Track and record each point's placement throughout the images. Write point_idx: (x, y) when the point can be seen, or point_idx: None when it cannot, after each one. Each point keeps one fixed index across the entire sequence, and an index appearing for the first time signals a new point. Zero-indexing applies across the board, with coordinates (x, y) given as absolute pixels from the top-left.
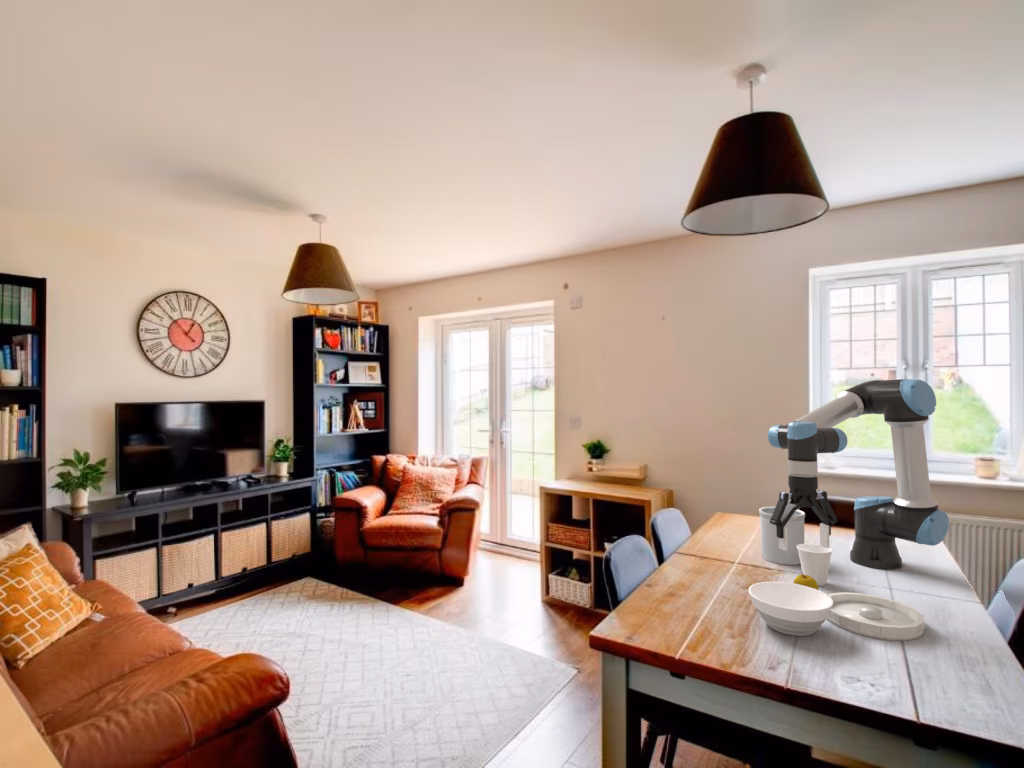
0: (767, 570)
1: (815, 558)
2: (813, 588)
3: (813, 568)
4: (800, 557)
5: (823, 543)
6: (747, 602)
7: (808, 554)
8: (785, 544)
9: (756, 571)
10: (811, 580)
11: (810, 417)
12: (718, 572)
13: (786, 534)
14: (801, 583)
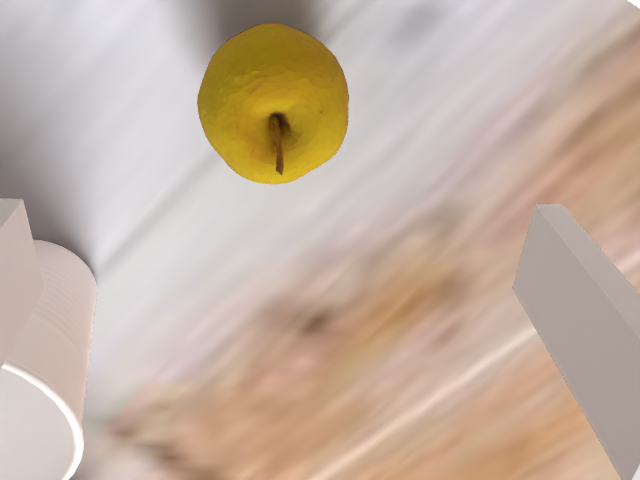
0: (186, 437)
1: (21, 338)
2: (279, 28)
3: (52, 303)
4: (84, 398)
5: (20, 269)
6: (600, 128)
7: (54, 375)
8: (591, 239)
9: (247, 434)
10: (275, 67)
11: None
12: (426, 445)
13: (633, 317)
14: (340, 84)
